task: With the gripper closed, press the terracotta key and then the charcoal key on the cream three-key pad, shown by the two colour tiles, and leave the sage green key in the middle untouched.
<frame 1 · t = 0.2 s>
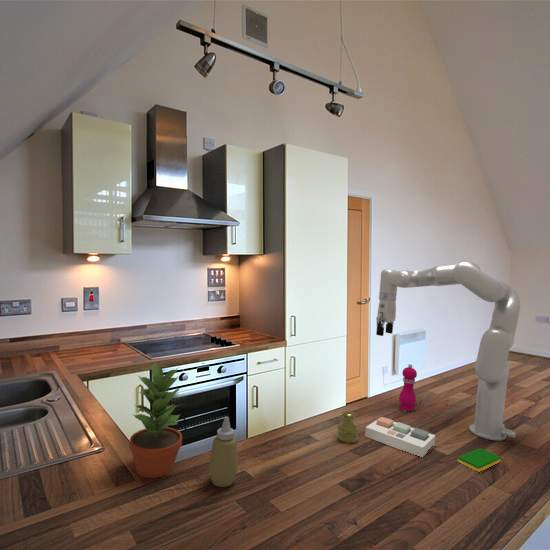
hand: (384, 334, 179), 31 cm above the countertop, tool pointing down, fingers open, 9 cm apart
sage key: (401, 429, 142), point 4 cm above the countertop, slide at 0.0 cm
charcoal key: (419, 435, 138), point 4 cm above the countertop, slide at 0.0 cm
squeeze bottle: (222, 482, 108), on the countertop
key pad: (399, 440, 141), on the countertop
potted plant: (156, 468, 113), on the countertop
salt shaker: (347, 439, 140), on the countertop
terracotta key: (385, 424, 146), point 4 cm above the countertop, slide at 0.0 cm
pepper mill: (406, 409, 173), on the countertop
dish sponge: (478, 464, 129), on the countertop
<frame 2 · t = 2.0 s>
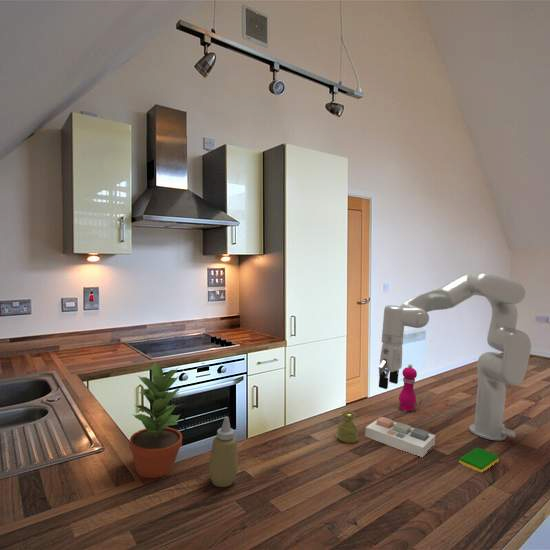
hand: (388, 385, 146), 18 cm above the countertop, tool pointing down, fingers open, 8 cm apart
nothing on the countertop moved.
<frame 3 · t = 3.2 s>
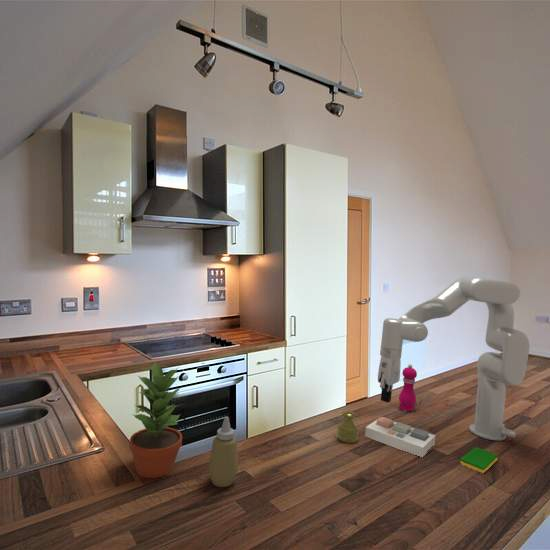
hand: (385, 400, 146), 12 cm above the countertop, tool pointing down, fingers closed
nothing on the countertop moved.
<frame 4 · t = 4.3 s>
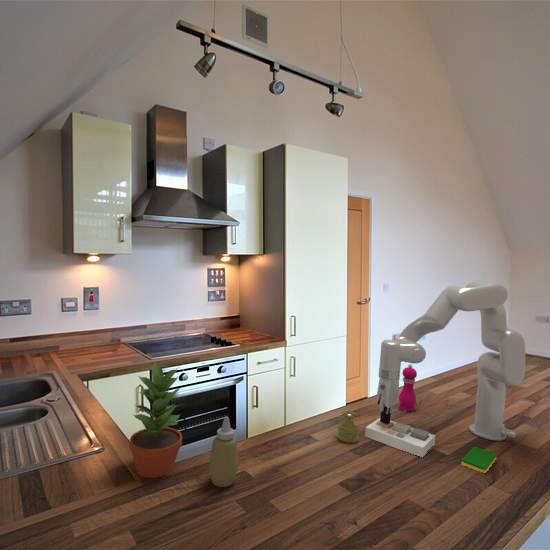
hand: (384, 422, 146), 4 cm above the countertop, tool pointing down, fingers closed
terracotta key: (384, 426, 146), point 3 cm above the countertop, slide at 0.9 cm, touching gripper
everything else where it was.
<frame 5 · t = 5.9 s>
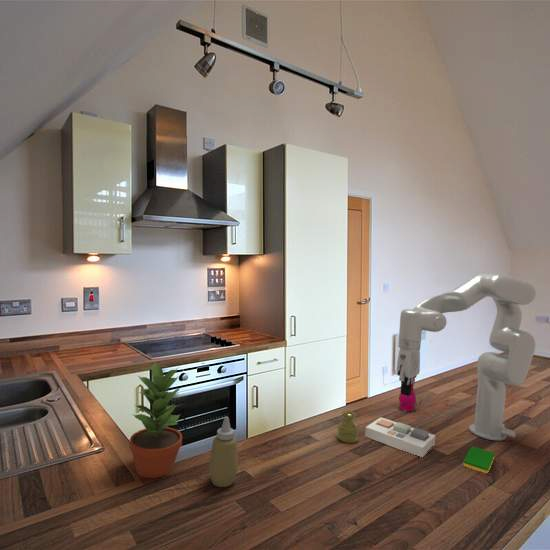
hand: (405, 394, 142), 17 cm above the countertop, tool pointing down, fingers closed
terracotta key: (384, 426, 146), point 3 cm above the countertop, slide at 0.9 cm
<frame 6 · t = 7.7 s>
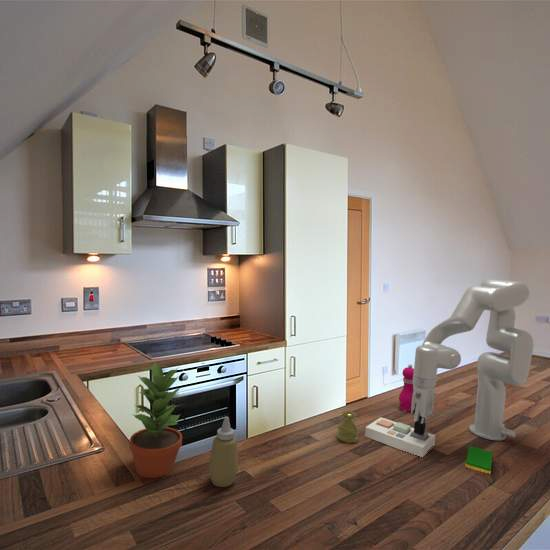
hand: (419, 433, 138), 5 cm above the countertop, tool pointing down, fingers closed
charcoal key: (419, 437, 138), point 3 cm above the countertop, slide at 0.5 cm, touching gripper
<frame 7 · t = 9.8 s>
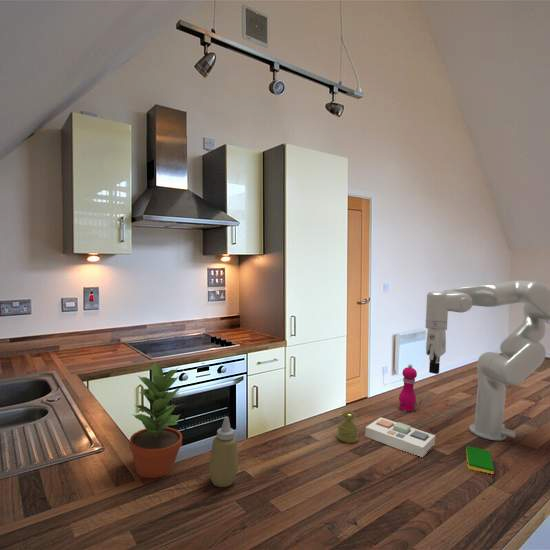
hand: (434, 372, 149), 23 cm above the countertop, tool pointing down, fingers closed
charcoal key: (419, 438, 138), point 3 cm above the countertop, slide at 0.9 cm
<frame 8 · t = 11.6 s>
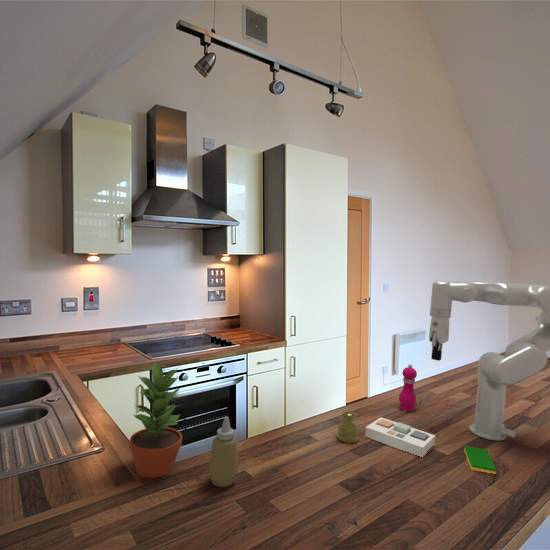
hand: (436, 359, 154), 27 cm above the countertop, tool pointing down, fingers closed
at the end: terracotta key slide at 0.9 cm; charcoal key slide at 0.9 cm; sage key slide at 0.0 cm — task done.
